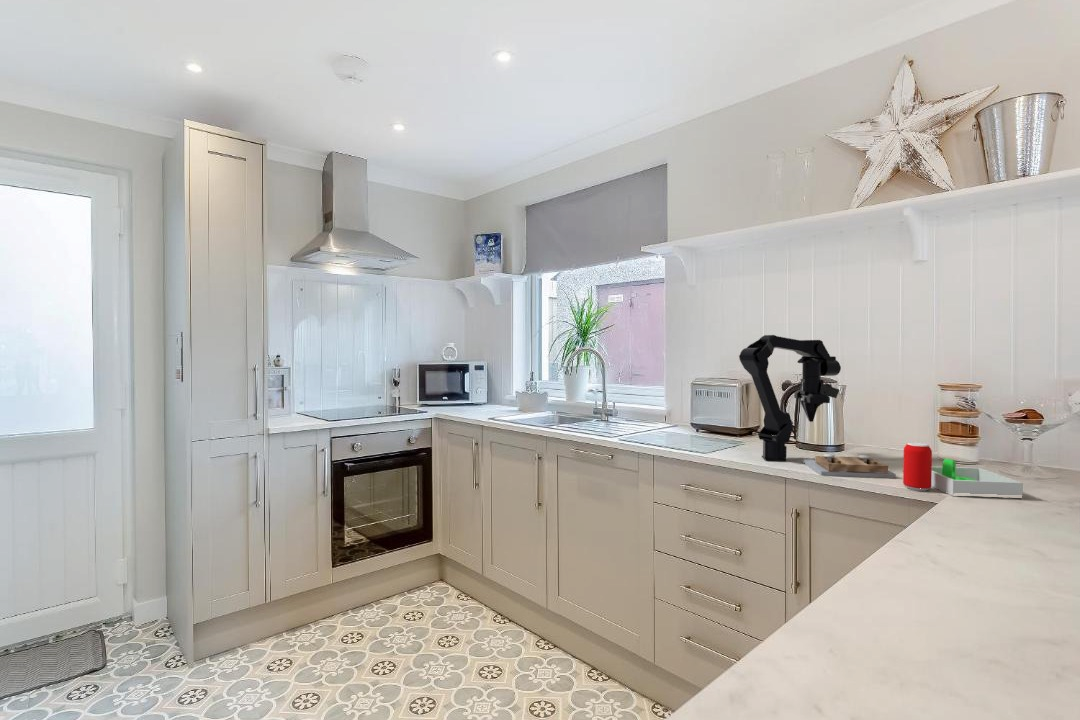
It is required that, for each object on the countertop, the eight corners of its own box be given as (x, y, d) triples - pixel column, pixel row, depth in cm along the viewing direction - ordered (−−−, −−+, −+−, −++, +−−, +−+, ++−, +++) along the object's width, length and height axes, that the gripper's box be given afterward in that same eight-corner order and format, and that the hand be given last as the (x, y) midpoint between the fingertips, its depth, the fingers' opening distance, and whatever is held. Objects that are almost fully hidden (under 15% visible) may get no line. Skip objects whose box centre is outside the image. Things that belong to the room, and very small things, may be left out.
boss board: (821, 475, 162) (821, 460, 162) (802, 462, 180) (802, 449, 179) (895, 478, 158) (896, 462, 158) (869, 464, 176) (869, 450, 176)
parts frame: (952, 496, 139) (953, 480, 139) (918, 480, 156) (918, 466, 156) (1022, 499, 137) (1022, 483, 137) (979, 482, 154) (980, 468, 154)
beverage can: (927, 493, 142) (928, 446, 142) (899, 488, 147) (900, 443, 147) (934, 489, 146) (934, 444, 146) (907, 484, 151) (907, 441, 151)
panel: (828, 470, 161) (828, 463, 161) (815, 462, 173) (815, 455, 173) (888, 472, 159) (888, 465, 159) (870, 463, 171) (870, 457, 171)
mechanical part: (970, 494, 141) (970, 463, 141) (941, 490, 146) (942, 460, 146) (978, 486, 150) (978, 457, 150) (951, 482, 154) (951, 454, 154)
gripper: (847, 378, 179) (846, 425, 180) (827, 375, 198) (826, 418, 198) (810, 377, 181) (810, 425, 181) (794, 374, 199) (793, 417, 200)
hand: (810, 421), depth 190 cm, fingers closed
